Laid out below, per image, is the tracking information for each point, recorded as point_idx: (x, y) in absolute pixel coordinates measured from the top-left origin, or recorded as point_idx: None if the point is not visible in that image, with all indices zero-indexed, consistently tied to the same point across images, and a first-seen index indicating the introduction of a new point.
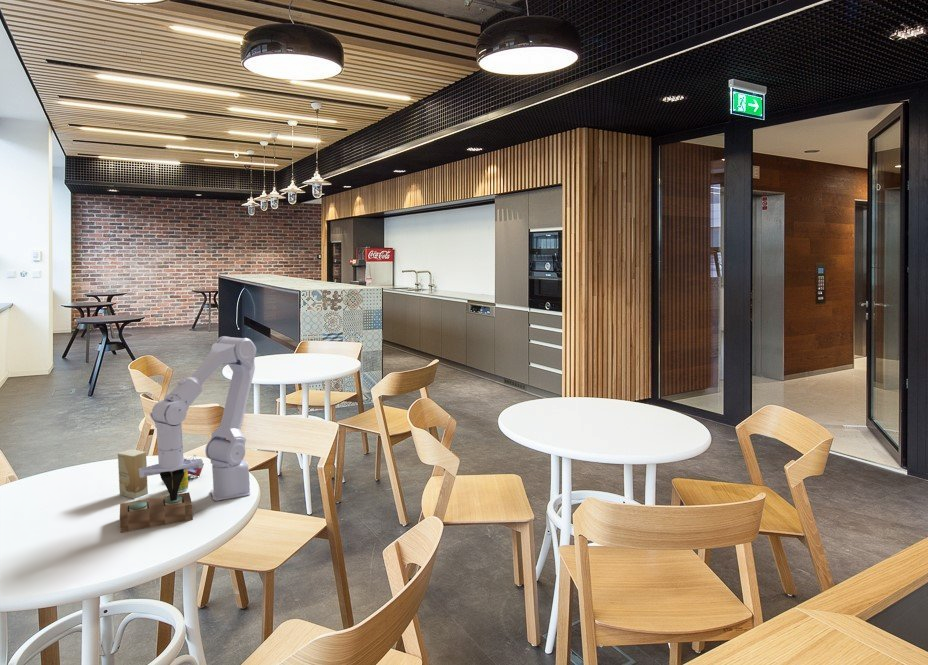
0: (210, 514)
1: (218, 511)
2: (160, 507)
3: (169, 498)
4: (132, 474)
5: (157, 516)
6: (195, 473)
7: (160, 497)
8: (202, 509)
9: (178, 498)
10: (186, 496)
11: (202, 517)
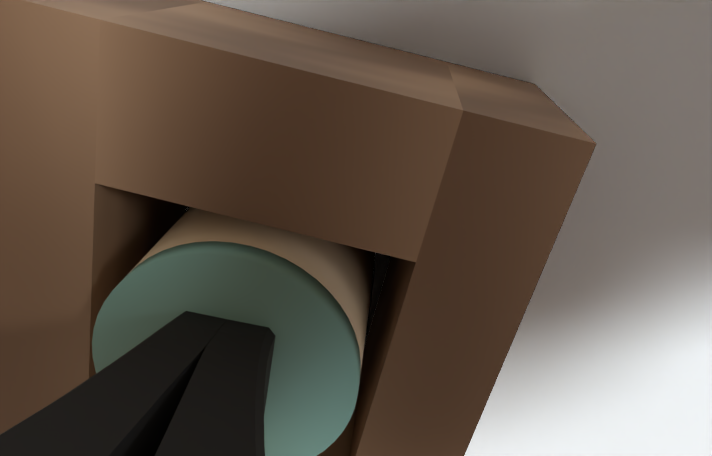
0: (589, 436)
1: (690, 425)
2: None
3: (171, 314)
4: None
5: None
6: None
7: (56, 40)
8: (602, 271)
9: (296, 405)
10: (461, 311)
11: (497, 446)
